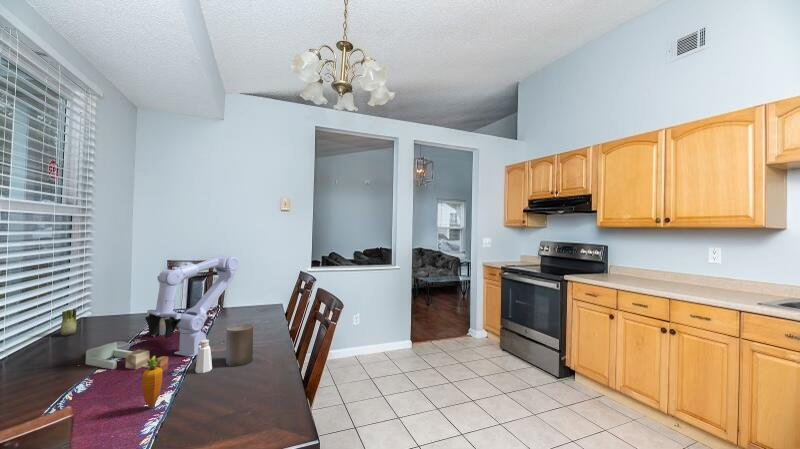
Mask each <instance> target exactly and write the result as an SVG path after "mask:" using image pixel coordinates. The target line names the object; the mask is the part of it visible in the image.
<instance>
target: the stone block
mask: <svg viewBox="0 0 800 449" xmlns="http://www.w3.org/2000/svg"><path fill="white" fill-rule="evenodd" d="M115 342H116V343H117V349H121V350H127V351H130V348H131V344H130V342H127V341H122V340H119V341H113V342H108V343H105V344H103V345H101V346H104V345H108V344H111V343H115ZM101 346H96V347H92V348H88V349H87V350H91V349H94V348H98V347H101Z"/></svg>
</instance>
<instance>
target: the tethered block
mask: <svg viewBox="0 0 800 449" xmlns="http://www.w3.org/2000/svg"><path fill="white" fill-rule="evenodd" d="M150 352H151V351H150V350H145V349H137V350H133V352H131V353H128V354H126V358H125V368H126V369H131V370H138V369H140V368H144V369H149V368H150V366H149V364H148V362H147V360H148V359H150ZM160 358H163V359H162V360H161V361H160V362H159V363H158V364H157V366H156V367H158V368H161V369H162V370H163V372H164V371H167V370H169V356H165V355H162V356H160V357H157V358H155V362H157V361H158V360H159V359H160Z"/></svg>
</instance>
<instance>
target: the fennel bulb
mask: <svg viewBox="0 0 800 449" xmlns="http://www.w3.org/2000/svg"><path fill="white" fill-rule="evenodd" d="M61 317H62V320H61V323H60V324H61V325H60V330H59V331H60V335H61V336H63V337H67V336H72V335H74V334H76V332H77V308H73V309H67V310H63V311H62V312H61Z"/></svg>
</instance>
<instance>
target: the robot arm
mask: <svg viewBox="0 0 800 449" xmlns="http://www.w3.org/2000/svg"><path fill="white" fill-rule="evenodd" d="M212 268H215V272H216V273H217V275H218V278H217V279H216V281H214V283H212V285H211V286H210V287H209V289H208V290H207V291H206V292H205V294H203V296H202V297H200V299H199V300H198V302H196V304H195V305H194V306H192V307H190V308H188V309H187V310H185V311H184V312H183V313H179V312H176V311H174V308H175V301H176V295H177V290H178V289H177V288H178V285H179V284H180V283H181V281H185V280H187V279H191V278H193V277H195V276H197V274H198V272H201V271H206V270H208V269H212ZM239 268H240V261H239V259H238V258H237V257H236V256H226V255H218V256H213V257H211V258H209V259H206V260H203V261H200V262H198V263H196V264H194V263H192V262H185V263H184V264H183V265H179V266H173V267H172V269H164V270H161V272H160V273H159V275H157V281H158V283H159V285H158V286H159V288H158V294H157V301H156V307H155V309H148V310H147V312H146V316H145V320H146V324H147V327H148V331H149V336H151V335H155V334H156V333H157V329H158V325H159V322H160V320H161V319H164V318H170V319H164V321H165V325H166V331H165V335H164V337H165V339H166V338H168V339H169V338H171V337H172V336H173V334H174V333H175V332H174V330H175V328H176V326H178V327H179V328H180V330H179V331H178V332H179V350H178V351H175V352H174V353H173V354H174V355H180V356H184V357H185V356H186V357H195V356H198V349H199V348H200V346H201V345H200V344H201V343H200V341H201V340H205V339H207V335H206V333H205V332H203V331H202V328H204V325H205V323H206V320H207V319H208V314H207V313H208V312H209V310H210V309H211V308H212V306H213V305H214V304H215V303H216V301H217V300H218V299H219V298H220V296H221V295H222V294H223V293H224V291H225V290H226V289H227V287H228V286H230V284H231V283H232V282H233V280H234V277H235V274H236V272H237V270H239ZM173 332H174V333H173ZM155 336H156V335H155Z"/></svg>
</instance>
